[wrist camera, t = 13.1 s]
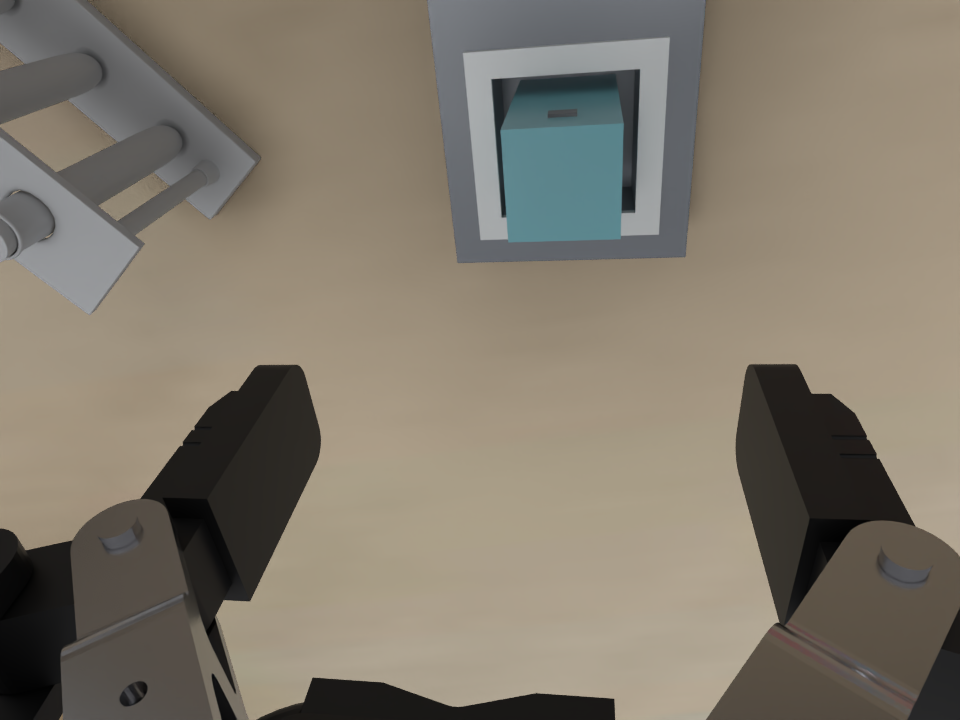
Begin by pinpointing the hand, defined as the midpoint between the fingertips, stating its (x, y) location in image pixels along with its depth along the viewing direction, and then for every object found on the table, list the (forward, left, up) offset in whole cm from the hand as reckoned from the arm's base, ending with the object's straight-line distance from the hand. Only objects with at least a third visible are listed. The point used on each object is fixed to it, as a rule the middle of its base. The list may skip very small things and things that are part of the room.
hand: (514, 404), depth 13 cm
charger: (0, 0, -21) cm, 21 cm away
